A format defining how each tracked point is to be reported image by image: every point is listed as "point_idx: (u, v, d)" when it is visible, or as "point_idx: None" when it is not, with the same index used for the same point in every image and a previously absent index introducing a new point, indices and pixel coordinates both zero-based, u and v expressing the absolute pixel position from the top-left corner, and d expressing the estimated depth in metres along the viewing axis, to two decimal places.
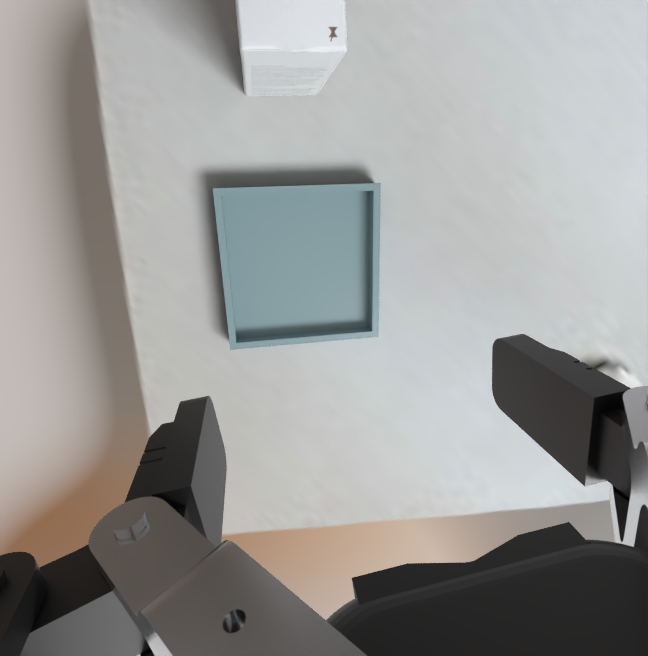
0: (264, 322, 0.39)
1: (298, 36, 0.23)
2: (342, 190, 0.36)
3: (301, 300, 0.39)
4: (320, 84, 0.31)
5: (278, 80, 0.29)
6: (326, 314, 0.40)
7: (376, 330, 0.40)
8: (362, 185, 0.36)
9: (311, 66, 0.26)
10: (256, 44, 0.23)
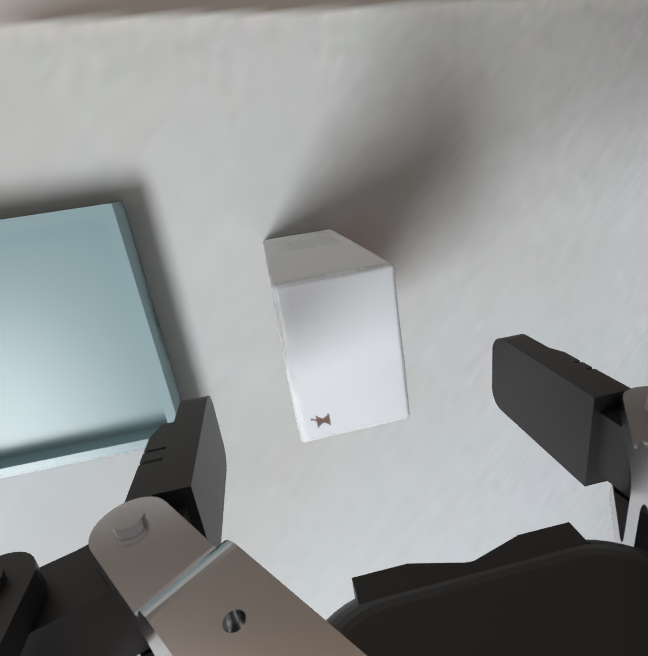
0: None
1: (307, 372, 0.14)
2: (160, 394, 0.24)
3: None
4: None
5: None
6: None
7: None
8: (174, 418, 0.25)
9: None
10: (284, 311, 0.13)
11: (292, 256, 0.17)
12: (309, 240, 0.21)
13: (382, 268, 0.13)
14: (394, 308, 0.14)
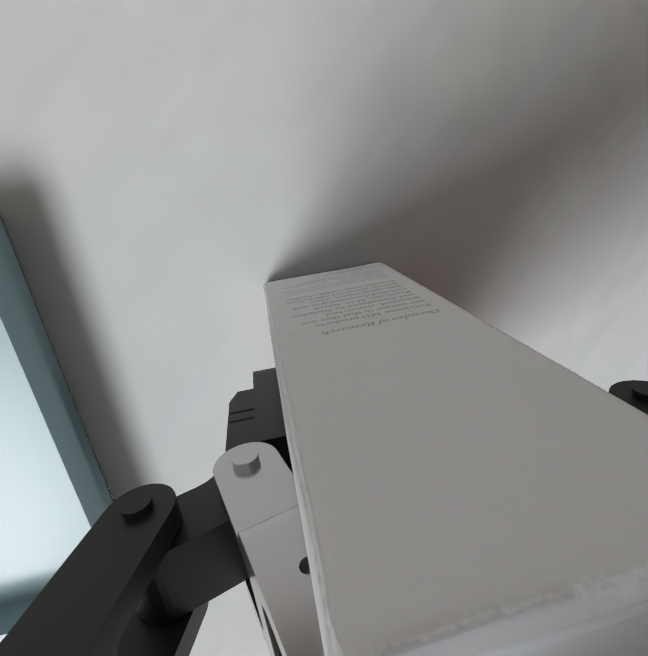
0: None
1: None
2: None
3: None
4: None
5: None
6: None
7: None
8: None
9: None
10: None
11: (343, 362, 0.07)
12: (357, 295, 0.11)
13: None
14: None
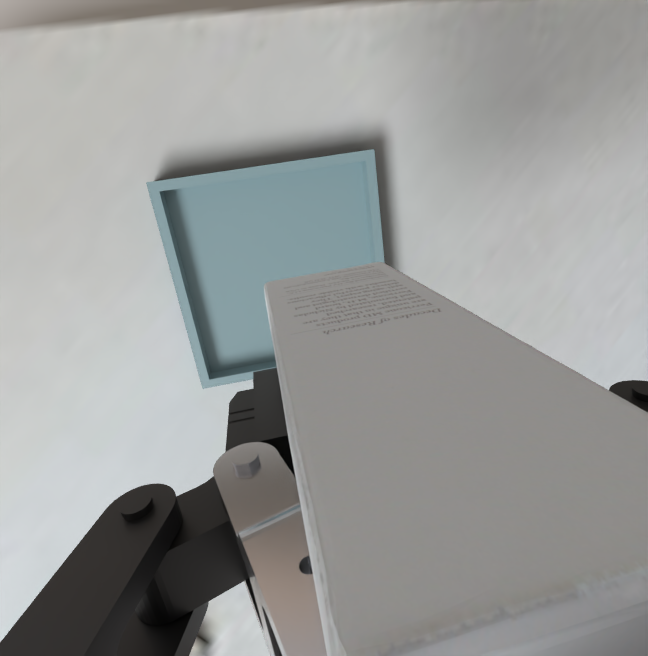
0: (194, 230, 0.27)
1: None
2: None
3: (235, 279, 0.29)
4: None
5: None
6: (220, 314, 0.30)
7: (211, 384, 0.30)
8: None
9: None
10: None
11: (345, 362, 0.07)
12: (358, 294, 0.11)
13: None
14: None
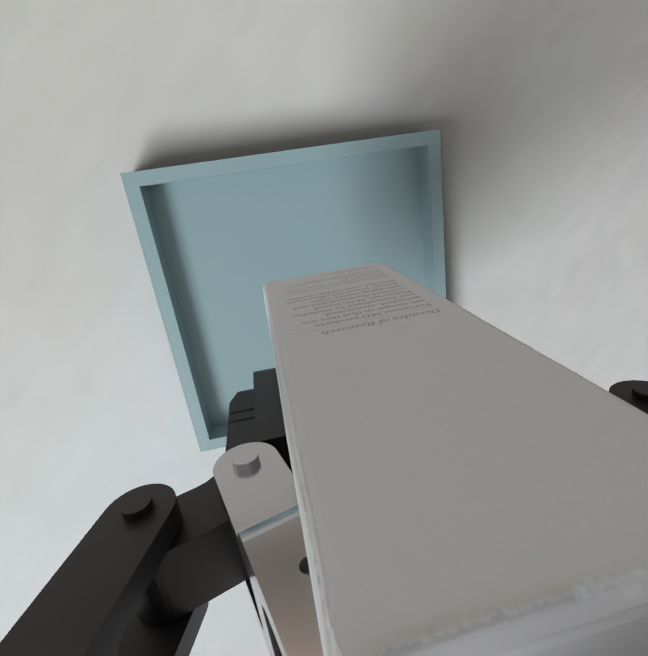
0: (190, 241, 0.20)
1: None
2: None
3: (245, 306, 0.21)
4: None
5: None
6: (225, 353, 0.22)
7: (212, 446, 0.22)
8: None
9: None
10: None
11: (343, 362, 0.07)
12: (358, 295, 0.11)
13: None
14: None
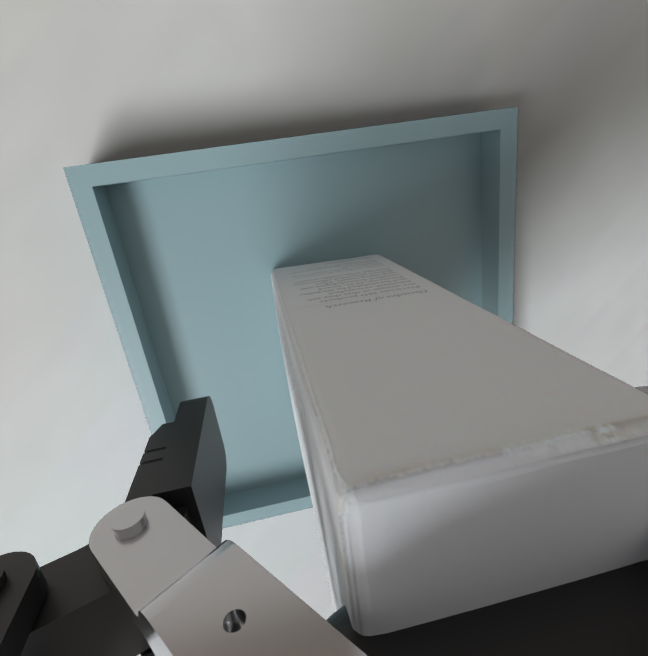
0: (169, 262, 0.14)
1: None
2: None
3: (244, 348, 0.16)
4: (304, 464, 0.13)
5: (294, 396, 0.11)
6: (217, 407, 0.17)
7: None
8: None
9: (327, 565, 0.08)
10: (374, 562, 0.04)
11: (344, 327, 0.08)
12: (357, 279, 0.12)
13: None
14: None
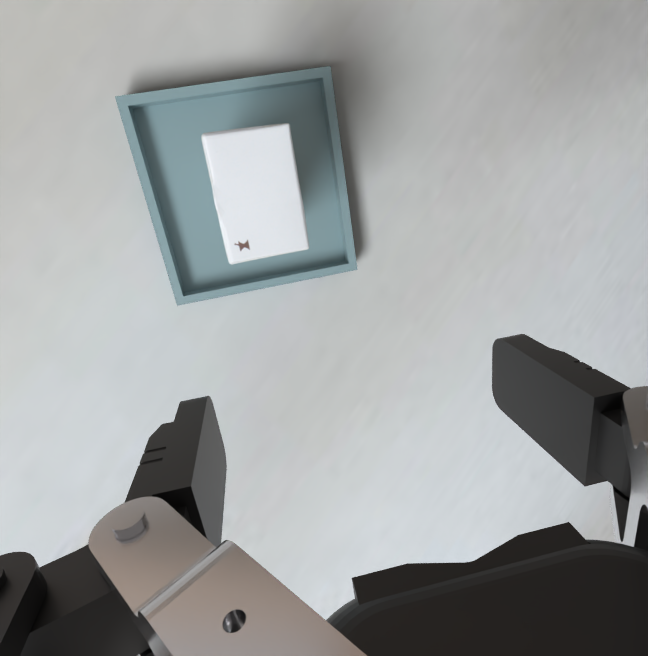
0: (164, 149, 0.29)
1: (230, 205, 0.20)
2: (345, 228, 0.32)
3: (204, 198, 0.30)
4: None
5: None
6: (192, 233, 0.31)
7: (185, 301, 0.31)
8: (352, 250, 0.32)
9: None
10: (211, 154, 0.19)
11: None
12: None
13: (281, 125, 0.19)
14: (292, 157, 0.20)
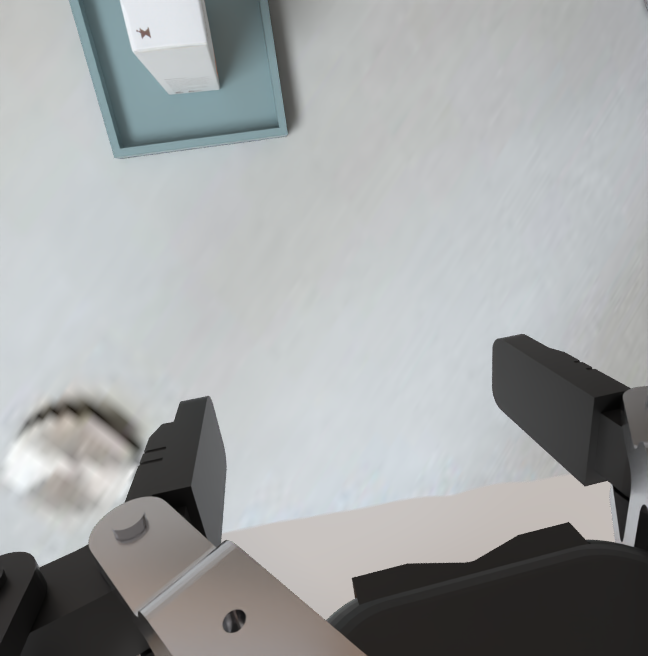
0: None
1: None
2: (274, 90, 0.34)
3: None
4: None
5: None
6: (129, 89, 0.33)
7: (122, 154, 0.33)
8: (282, 113, 0.34)
9: None
10: None
11: None
12: None
13: None
14: None
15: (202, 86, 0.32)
